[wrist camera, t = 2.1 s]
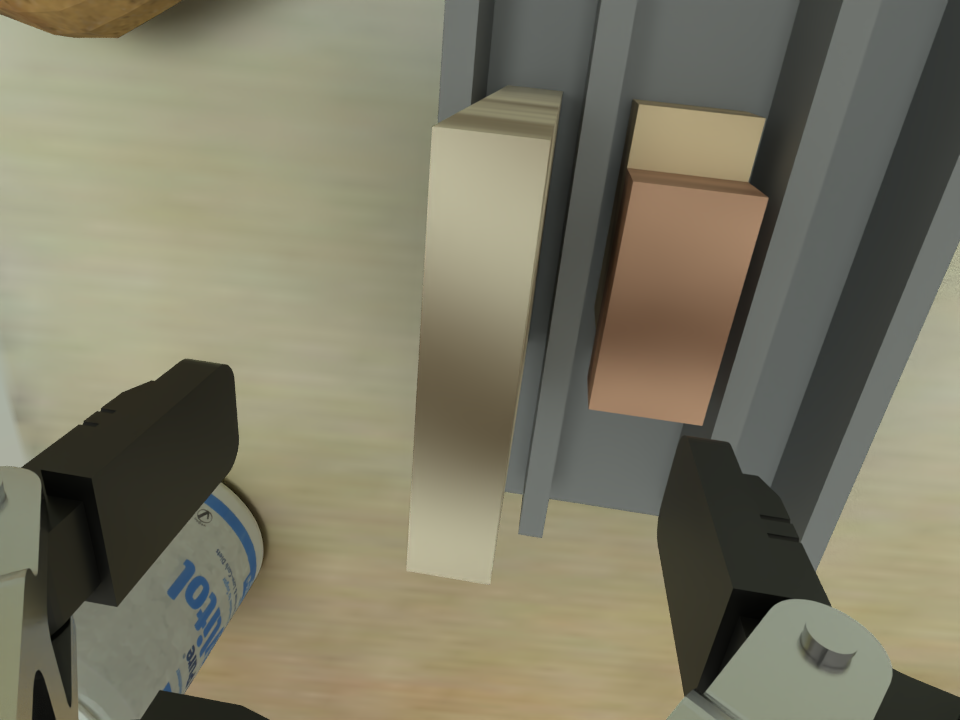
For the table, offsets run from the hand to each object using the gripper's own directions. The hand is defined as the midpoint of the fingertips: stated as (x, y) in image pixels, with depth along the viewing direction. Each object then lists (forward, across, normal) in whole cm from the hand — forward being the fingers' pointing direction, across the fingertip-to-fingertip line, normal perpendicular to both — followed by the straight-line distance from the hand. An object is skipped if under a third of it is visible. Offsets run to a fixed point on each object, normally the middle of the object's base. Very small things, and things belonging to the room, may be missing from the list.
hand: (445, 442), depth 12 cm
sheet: (+16, 0, 0) cm, 16 cm away
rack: (+17, -6, 0) cm, 18 cm away
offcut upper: (+13, -6, +1) cm, 14 cm away
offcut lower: (+16, -6, -1) cm, 17 cm away
